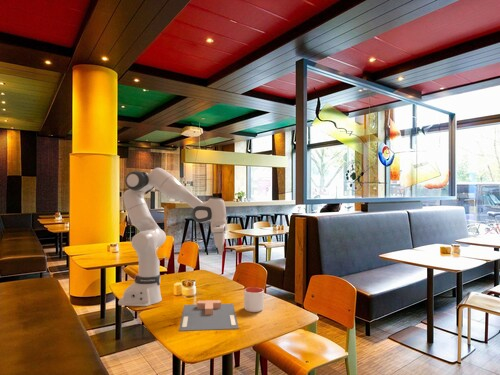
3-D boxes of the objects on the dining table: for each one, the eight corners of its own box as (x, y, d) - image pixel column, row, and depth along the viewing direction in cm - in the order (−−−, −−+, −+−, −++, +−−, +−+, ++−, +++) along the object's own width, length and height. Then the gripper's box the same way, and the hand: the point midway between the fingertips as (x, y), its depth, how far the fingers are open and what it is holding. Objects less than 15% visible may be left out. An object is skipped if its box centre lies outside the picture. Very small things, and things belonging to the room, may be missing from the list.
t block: (196, 315, 156) (196, 309, 156) (197, 306, 168) (197, 300, 168) (221, 314, 158) (221, 308, 158) (220, 305, 169) (220, 300, 170)
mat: (178, 331, 138) (178, 329, 138) (184, 305, 170) (184, 304, 170) (238, 328, 142) (238, 327, 142) (233, 303, 173) (233, 302, 173)
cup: (261, 313, 160) (262, 293, 160) (242, 312, 162) (242, 292, 162) (264, 306, 170) (265, 288, 170) (246, 305, 172) (246, 286, 172)
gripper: (215, 226, 183) (217, 250, 182) (211, 229, 162) (213, 257, 162) (226, 225, 183) (228, 249, 182) (223, 228, 162) (226, 256, 162)
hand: (221, 253), depth 172 cm, fingers open, 8 cm apart
